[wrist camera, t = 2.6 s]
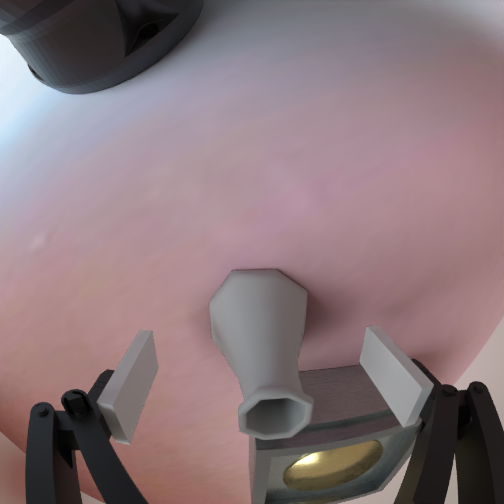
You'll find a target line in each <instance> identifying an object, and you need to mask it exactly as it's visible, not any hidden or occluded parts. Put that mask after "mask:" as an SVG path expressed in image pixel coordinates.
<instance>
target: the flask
mask: <svg viewBox="0 0 504 504" xmlns="http://www.w3.org/2000/svg"><path fill="white" fill-rule="evenodd" d="M307 292H308V291H306V290H305V289H303V288H302V287H301V286H299V285H298V284H296V283H295V282H293V281H292V280H290V279H289V278H288V277H286V276H285V275H283V274H282V273H280V272H279V271H277V270H276V269H263V270H232V271H231V273H230V274H229V275H228V277H227V278H226V280H225V281H224V282H223V284H222V285H221V286H220V288H219V289H218V291H217V292H216V293H215V295H214V296H213V297H212V299H211V300H210V302H209V313H210V324H211V335H212V339H213V341H214V342H215V344H216V345H217V347H218V348H219V350H220V351H221V353H222V354H223V355H224V357H225V358H226V360H227V362H228V363H229V365H230V367H231V368H232V370H233V372H234V373H235V375H236V376H237V378H238V381H239V384H240V387H241V391H242V394H243V397H244V402H243V403H241V404H240V405H239V407H238V419H239V431H240V432H242V433H245V434H248V435H250V436H253V437H256V438H259V439H262V440H270V439H281V438H291V437H293V436H294V435H295V434H297V433H298V432H299V431H301V430H302V429H303V428H304V427H306V426H307V425H308V424H309V423H311V419H312V414H313V409H314V399H313V398H312V397H311V396H309V395H307V394H305V393H304V392H303V390H302V387H301V383H300V380H299V376H298V357H299V352H300V347H301V343H302V339H303V335H304V331H305V322H306V308H307Z"/></svg>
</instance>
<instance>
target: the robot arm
mask: <svg viewBox="0 0 504 504" xmlns="http://www.w3.org/2000/svg"><path fill="white" fill-rule="evenodd" d="M203 2H204V0H0V34H2V35H4V36H6V37H7V38H9V40H10V41H11V43H12V44H13V45H14V47H15V48H16V49H17V51H18V52H19V53H20V54H21V56H22V57H23V58H24V59H25V61H26V62H27V64H28V67H29V69H30V71H31V72H32V74H33V75H34V77H35V78H36V79H37V80H39V81H40V82H41V83H43V84H45V85H47V86H49V87H51V88H53V89H56V90H58V91H60V92H63V93H68V94H85V93H91V92H96V91H99V90H103V89H106V88H109V87H111V86H114V85H116V84H119V83H121V82H123V81H125V80H127V79H129V78H131V77H133V76H134V75H136V74H138V73H140V72H141V71H143V70H144V69H146V68H148V67H149V66H151V65H152V64H153V63H155V62H156V61H158V60H159V59H160V58H161V57H163V56H164V55H165V54H166V53H168V52H169V51H170V50H171V49H172V48H173V47H174V46H175V45H176V44H177V43H178V42H179V41H180V40H181V39H182V38H183V37H184V36H185V35H186V34H187V32H188V31H189V30H190V29H191V27H192V26H193V24H194V23H195V21H196V20H197V18H198V16H199V14H200V12H201V9H202V6H203ZM359 362H360V364H361V365H362V367H363V368H364V369H365V371H366V372H367V374H368V375H369V377H370V378H371V380H372V381H373V383H374V384H375V386H376V387H377V389H378V390H379V392H380V393H381V395H382V396H383V398H384V399H385V401H386V402H387V404H388V405H389V407H390V408H391V410H392V411H393V413H394V414H395V416H396V417H397V419H398V420H399V422H400V424H401V425H402V427H403V428H404V427H407V426H410V425H413V424H415V422H416V421H417V419H418V417H419V416H420V418H421V419H422V421H421V423H420V425H419V427H418V428H417V430H416V432H415V434H417V432H418V434H417V437H416V441H415V445H414V448H413V452H412V455H411V458H410V461H409V465H408V467H407V470H406V473H405V476H404V479H403V482H402V484H401V487H400V489H399V492H398V494H397V497H396V499H395V502H394V504H444V502H445V498H446V494H447V490H448V486H449V480H450V476H451V471H452V466H453V459H454V453H455V460H456V469H457V481H458V504H504V431H503V428H502V425H501V422H500V419H499V416H498V413H497V411H496V408H495V405H494V403H493V400H492V398H491V396H490V393H489V391H488V388H487V387H486V385H484V384H483V383H481V382H477V381H475V382H472V383H470V385H469V387H468V389H467V390H459V391H458V390H457V389H456V388H455V387H454V386H452V385H448V384H444V385H442V384H441V383H440V382H439V381H438V380H437V379H436V378H435V377H434V376H433V375H432V374H431V373H430V372H429V371H428V370H427V368H425V366H424V365H423V364H422V363H421V362H419V361H417V360H415V359H410V358H409V357H408V356H407V355H406V354H405V353H404V352H403V351H402V350H401V349H400V348H399V347H398V346H397V345H396V344H395V343H394V342H393V341H392V340H391V339H390V338H389V337H388V335H387V334H386V333H385V332H384V331H383V330H382V329H381V328H380V327H379V326H378V325H372V326H367V329H366V333H365V338H364V343H363V347H362V351H361V356H360V360H359ZM158 368H159V366H158V361H157V355H156V350H155V344H154V338H153V332H152V330H140V331H139V333H138V334H137V336H136V337H135V339H134V341H133V342H132V344H131V345H130V347H129V349H128V350H127V352H126V353H125V355H124V357H123V358H122V360H121V361H120V363H119V365H118V366H117V368H116V370H115V371H114V370H108V369H107V370H106V371H104V372H103V373H102V374H100V376H99V377H98V379H97V380H96V382H95V383H94V385H93V387H92V388H91V390H90V391H89V393H88V394H86V393H85V392H84V391H82V390H78V389H74V390H70V391H67V392H66V393H65V394H63V396H62V398H61V403H62V405H63V407H64V409H65V411H56V410H54V408H53V406H52V405H51V404H49V403H47V402H40V403H37V404H35V405H34V406H33V407H32V409H31V413H30V420H29V428H28V437H27V448H26V470H25V473H26V474H25V483H26V504H82V499H81V493H80V487H79V481H78V474H77V465H76V456H75V450H81V453H82V455H83V458H84V460H85V462H86V465H87V467H88V469H89V471H90V473H91V475H92V478H93V480H94V482H95V484H96V486H97V488H98V489H99V491H100V493H101V495H102V497H103V499H104V501H105V502H106V504H149V503H148V502H147V501H146V499H145V498H144V497H143V495H142V494H141V492H140V491H139V489H138V488H137V486H136V485H135V484H134V482H133V480H132V479H131V477H130V476H129V474H128V473H127V471H126V469H125V468H124V466H123V465H122V463H121V461H120V459H119V458H118V456H117V454H116V452H115V451H114V449H113V447H112V445H111V443H110V441H109V439H110V437H111V435H112V436H113V438H114V440H115V442H120V443H124V444H129V445H130V443H131V440H132V437H133V434H134V431H135V428H136V426H137V423H138V420H139V417H140V415H141V412H142V409H143V407H144V404H145V401H146V399H147V396H148V393H149V391H150V388H151V386H152V383H153V381H154V378H155V375H156V373H157V370H158Z"/></svg>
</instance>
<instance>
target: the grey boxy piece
mask: <svg viewBox="0 0 504 504" xmlns="http://www.w3.org/2000/svg"><path fill="white" fill-rule="evenodd" d="M298 376H299V380H300V383H301V387H302V390H303V392H304V393H305V394H307V395H309V396H311V397H312V398H313V399H314V409H313V414H312V419H311V423H309V424H308V425H307V426H306V427H304V428H303V429H302V430H301V431H299V432H298V433H297V434H295V435H294V436H293V437H291V438H281V439H270V440H262V439H259V438H256V437H253V436H250V435H249V476H250V490H251V504H337V503H341V502H345V501H349V500H353V499H356V498H360V497H364V496H367V495H370V494H373V493H376V492H379V491H382V490H383V489H384V488H385V487H386V485H387V484H388V483H389V482H390V481H391V480H392V478H393V477H394V476H395V475H396V474H397V472H398V471H399V470H400V469H401V467H402V466H403V465H404V463H405V462H406V461H407V459H408V458H409V457H410V455H411V454H412V452H413V448H414V445H415V441H416V437H417V434H418V432H417V434H415V432H416V430H417V428H418V427H419V425H420V423H421V421H422V419H421V418H420V416H419V417H418V419H417V421H416V422H415V424H413V425H410V426H407V427H404V428H403V427H402V425H401V424H400V422H399V420H398V419H397V417H396V416H395V414H394V413H393V411H392V410H391V408H390V407H389V405H388V404H387V402H386V401H385V399H384V398H383V396H382V395H381V393H380V392H379V390H378V389H377V387H376V386H375V384H374V383H373V381H372V380H371V378H370V377H369V375H368V374H367V372H366V371H365V369H364V368H363V367H362V365H355V366H348V367H340V368H332V369H323V370H313V371H302V372H298Z"/></svg>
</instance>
